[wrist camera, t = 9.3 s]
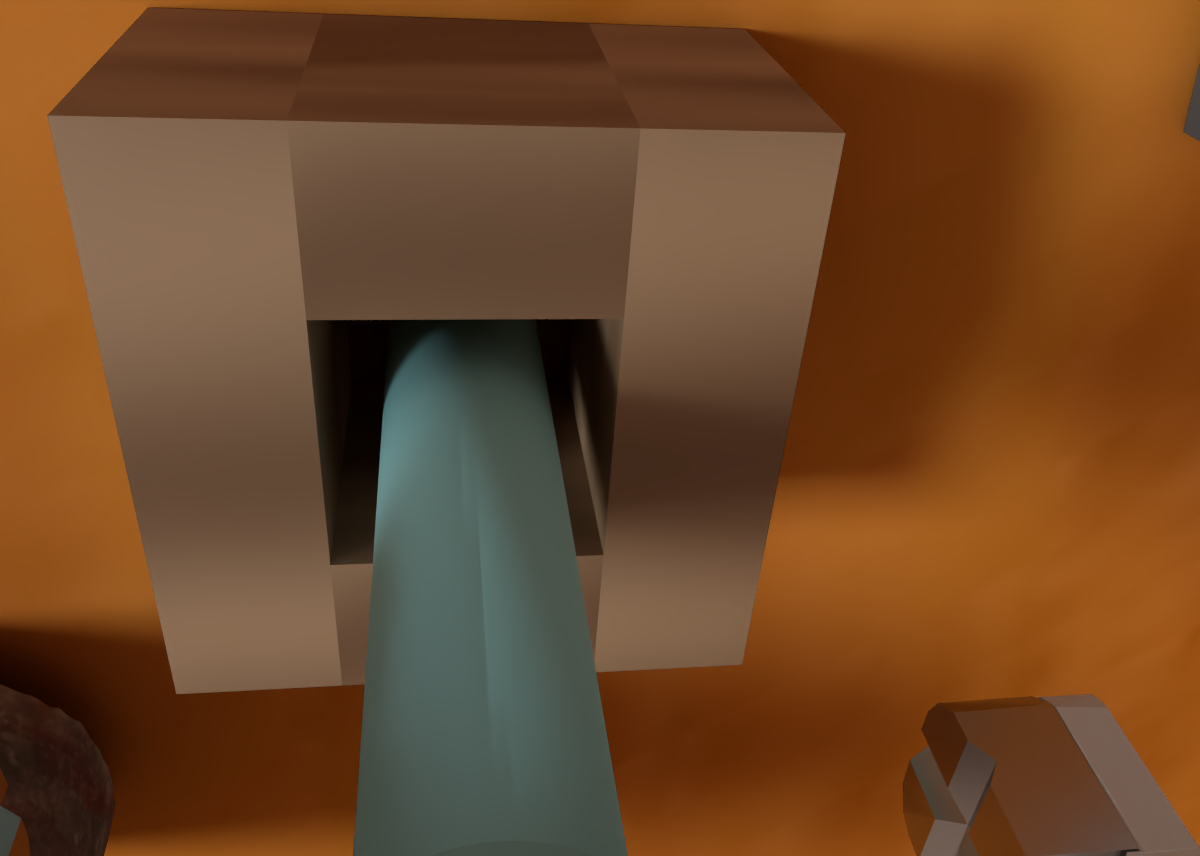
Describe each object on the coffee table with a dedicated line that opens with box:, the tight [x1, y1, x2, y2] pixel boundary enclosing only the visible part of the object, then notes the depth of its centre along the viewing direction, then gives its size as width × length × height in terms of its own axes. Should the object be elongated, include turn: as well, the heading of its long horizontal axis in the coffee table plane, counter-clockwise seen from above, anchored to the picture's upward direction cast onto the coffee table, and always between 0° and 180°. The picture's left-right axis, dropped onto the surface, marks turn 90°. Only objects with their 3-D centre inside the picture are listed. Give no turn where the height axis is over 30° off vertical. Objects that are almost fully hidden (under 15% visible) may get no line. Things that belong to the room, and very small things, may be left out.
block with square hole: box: [47, 8, 846, 694], centre depth 17 cm, size 9×9×5 cm
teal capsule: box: [353, 319, 628, 856], centre depth 13 cm, size 2×2×13 cm
